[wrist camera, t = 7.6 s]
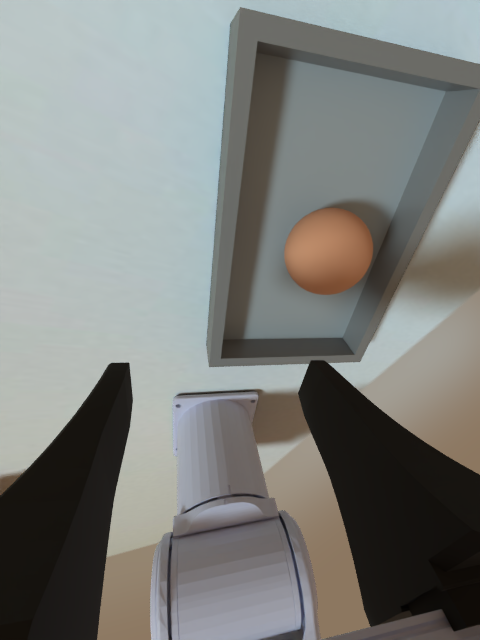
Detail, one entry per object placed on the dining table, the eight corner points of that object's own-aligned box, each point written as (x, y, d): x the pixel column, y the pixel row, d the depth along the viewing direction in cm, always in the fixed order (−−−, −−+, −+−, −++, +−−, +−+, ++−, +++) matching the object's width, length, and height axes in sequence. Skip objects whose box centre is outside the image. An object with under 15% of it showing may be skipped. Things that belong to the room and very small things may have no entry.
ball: (332, 273, 21) (371, 310, 17) (267, 272, 20) (293, 311, 16) (355, 201, 18) (409, 225, 14) (282, 195, 17) (317, 219, 13)
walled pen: (346, 342, 26) (360, 361, 24) (206, 345, 23) (209, 366, 21) (462, 75, 15) (504, 69, 13) (230, 23, 13) (240, 7, 11)
